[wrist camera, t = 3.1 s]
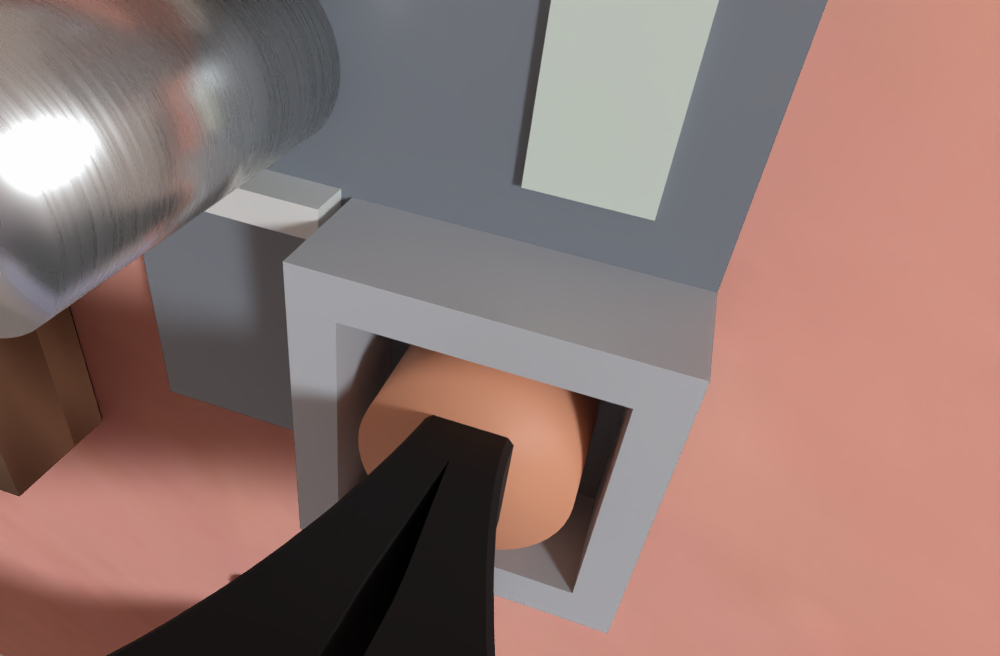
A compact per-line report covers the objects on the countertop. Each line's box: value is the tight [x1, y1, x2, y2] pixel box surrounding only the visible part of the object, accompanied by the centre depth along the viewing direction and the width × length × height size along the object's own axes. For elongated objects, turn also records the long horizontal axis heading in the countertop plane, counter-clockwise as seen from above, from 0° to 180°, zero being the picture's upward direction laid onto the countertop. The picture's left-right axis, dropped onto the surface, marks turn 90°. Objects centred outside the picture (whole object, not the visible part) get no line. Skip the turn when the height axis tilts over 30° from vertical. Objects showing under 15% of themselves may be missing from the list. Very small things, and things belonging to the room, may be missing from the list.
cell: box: [0, 0, 340, 338], centre depth 8 cm, size 3×3×6 cm
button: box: [358, 344, 598, 550], centre depth 12 cm, size 4×4×2 cm
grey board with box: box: [143, 0, 828, 633], centre depth 12 cm, size 11×10×3 cm
